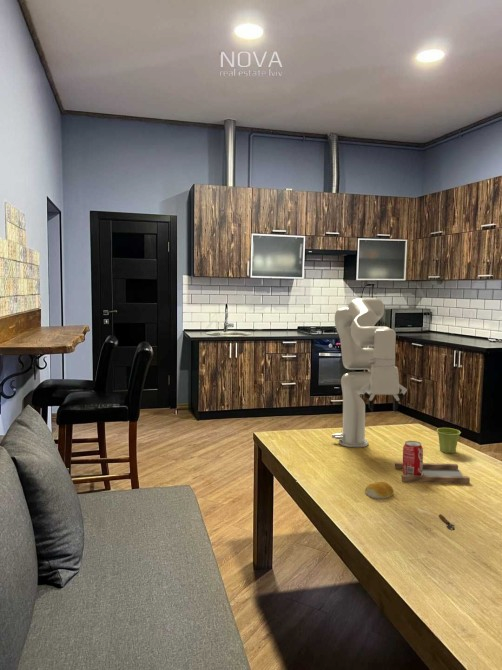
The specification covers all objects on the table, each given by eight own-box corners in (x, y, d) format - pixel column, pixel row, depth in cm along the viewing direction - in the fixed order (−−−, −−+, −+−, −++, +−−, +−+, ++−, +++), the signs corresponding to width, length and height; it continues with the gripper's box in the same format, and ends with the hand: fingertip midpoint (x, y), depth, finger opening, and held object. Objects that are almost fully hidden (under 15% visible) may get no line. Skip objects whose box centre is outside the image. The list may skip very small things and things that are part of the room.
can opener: (438, 517, 154) (438, 513, 154) (446, 517, 154) (446, 513, 154) (449, 532, 145) (449, 528, 145) (457, 532, 145) (457, 528, 145)
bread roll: (397, 495, 170) (398, 483, 170) (379, 501, 166) (379, 490, 165) (379, 487, 177) (379, 476, 177) (360, 493, 172) (360, 481, 172)
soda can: (419, 471, 191) (420, 440, 190) (424, 478, 184) (425, 446, 183) (400, 471, 192) (401, 439, 190) (404, 478, 185) (405, 445, 183)
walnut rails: (402, 482, 181) (402, 476, 181) (394, 467, 195) (394, 462, 195) (469, 483, 179) (469, 478, 179) (456, 469, 193) (456, 463, 193)
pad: (427, 480, 182) (427, 480, 182) (419, 469, 193) (419, 469, 193) (467, 481, 181) (467, 480, 181) (457, 470, 192) (458, 469, 192)
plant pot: (463, 450, 214) (464, 430, 213) (454, 456, 207) (455, 435, 206) (441, 446, 221) (442, 426, 220) (432, 451, 214) (432, 431, 213)
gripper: (361, 364, 181) (360, 413, 183) (411, 364, 180) (410, 413, 182) (358, 361, 189) (357, 408, 191) (406, 361, 188) (405, 408, 189)
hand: (383, 410), depth 186 cm, fingers open, 7 cm apart
